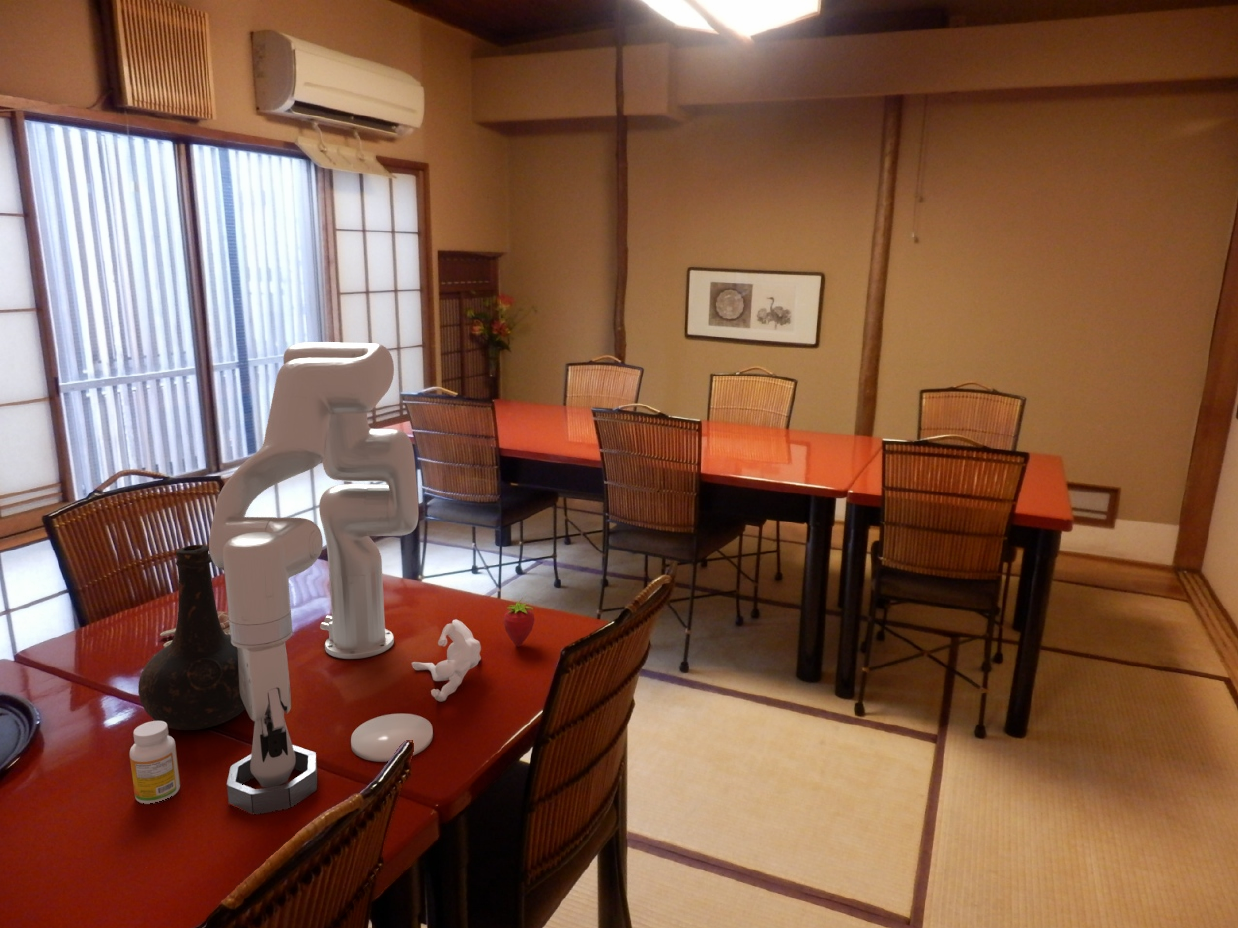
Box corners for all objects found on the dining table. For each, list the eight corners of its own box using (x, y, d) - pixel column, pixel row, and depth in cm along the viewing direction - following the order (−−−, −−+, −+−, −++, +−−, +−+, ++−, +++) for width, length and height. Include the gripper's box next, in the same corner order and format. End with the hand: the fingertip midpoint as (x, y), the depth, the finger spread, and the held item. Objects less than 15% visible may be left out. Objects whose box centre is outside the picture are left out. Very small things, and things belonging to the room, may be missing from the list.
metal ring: (212, 798, 111) (210, 778, 111) (277, 757, 121) (276, 738, 120) (270, 821, 107) (269, 801, 106) (334, 777, 116) (332, 758, 116)
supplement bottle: (146, 781, 115) (138, 718, 113) (187, 780, 115) (180, 716, 113) (127, 805, 109) (118, 739, 107) (169, 804, 110) (162, 738, 108)
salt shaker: (304, 778, 114) (298, 691, 111) (264, 796, 110) (256, 707, 107) (284, 761, 118) (277, 677, 115) (244, 779, 113) (235, 692, 111)
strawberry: (535, 637, 163) (534, 589, 161) (534, 654, 156) (533, 604, 154) (505, 638, 163) (504, 590, 160) (502, 655, 155) (501, 604, 153)
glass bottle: (141, 757, 121) (119, 575, 115) (145, 702, 136) (125, 539, 130) (272, 728, 129) (258, 557, 123) (262, 680, 144) (249, 525, 138)
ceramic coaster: (333, 748, 123) (333, 742, 123) (388, 712, 134) (388, 706, 134) (396, 769, 118) (396, 763, 118) (448, 730, 129) (448, 724, 129)
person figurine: (416, 607, 149) (441, 627, 133) (483, 611, 155) (515, 631, 139) (405, 679, 149) (429, 708, 133) (473, 681, 155) (504, 709, 138)
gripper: (219, 611, 113) (231, 732, 117) (242, 657, 100) (254, 791, 104) (277, 600, 117) (286, 718, 122) (306, 642, 104) (316, 773, 108)
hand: (272, 750), depth 113 cm, fingers closed on salt shaker, 3 cm apart
